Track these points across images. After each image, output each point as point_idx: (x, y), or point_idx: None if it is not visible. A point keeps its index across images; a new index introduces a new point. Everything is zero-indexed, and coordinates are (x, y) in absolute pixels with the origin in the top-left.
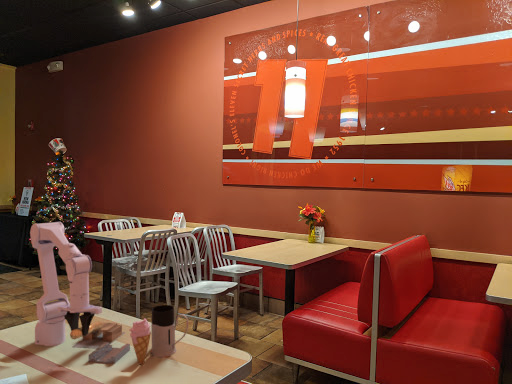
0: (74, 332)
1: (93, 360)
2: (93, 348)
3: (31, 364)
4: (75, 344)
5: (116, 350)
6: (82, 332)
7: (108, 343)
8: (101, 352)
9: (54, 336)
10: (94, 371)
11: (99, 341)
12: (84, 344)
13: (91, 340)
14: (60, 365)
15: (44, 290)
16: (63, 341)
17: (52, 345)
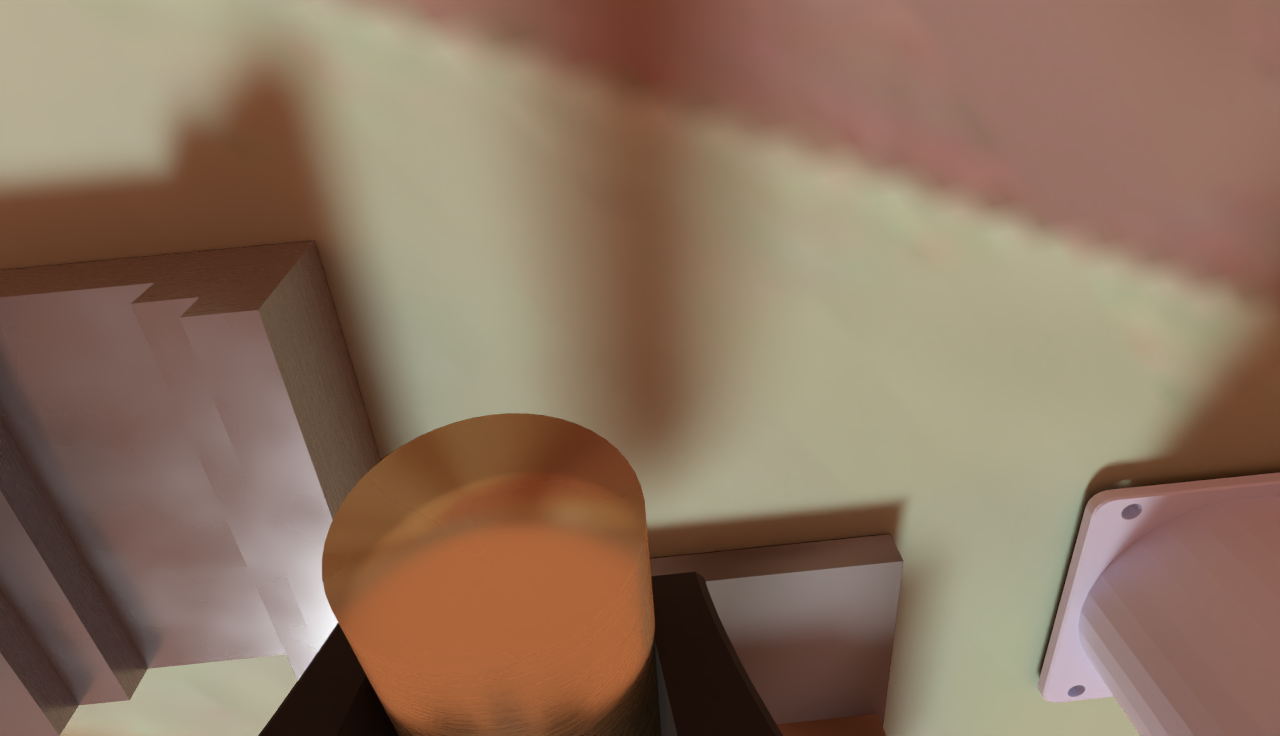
0: (477, 580)
1: (199, 280)
2: None
3: (1254, 21)
4: (894, 616)
5: (172, 606)
6: (350, 675)
7: None
8: (230, 481)
9: (1257, 637)
10: (10, 66)
11: None
12: (776, 641)
13: None
14: (744, 112)
15: None
16: (1095, 632)
17: (1193, 528)
